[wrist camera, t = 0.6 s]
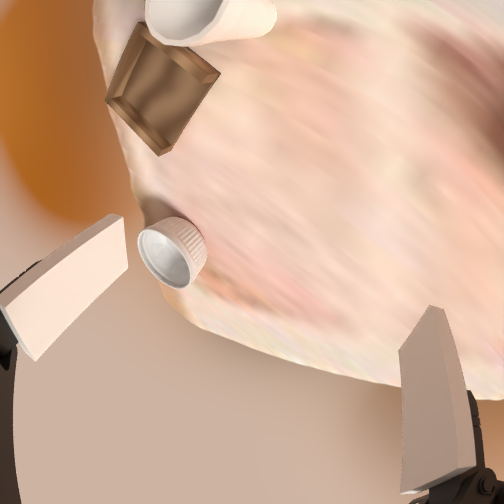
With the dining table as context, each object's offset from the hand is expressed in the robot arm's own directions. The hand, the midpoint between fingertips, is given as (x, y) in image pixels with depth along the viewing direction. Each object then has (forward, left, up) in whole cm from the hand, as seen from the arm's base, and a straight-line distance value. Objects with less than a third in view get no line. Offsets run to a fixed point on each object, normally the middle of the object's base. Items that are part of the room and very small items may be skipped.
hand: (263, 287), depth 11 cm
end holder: (-15, -25, -26) cm, 39 cm away
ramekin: (+13, -34, -26) cm, 45 cm away
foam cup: (-18, -7, -26) cm, 33 cm away
